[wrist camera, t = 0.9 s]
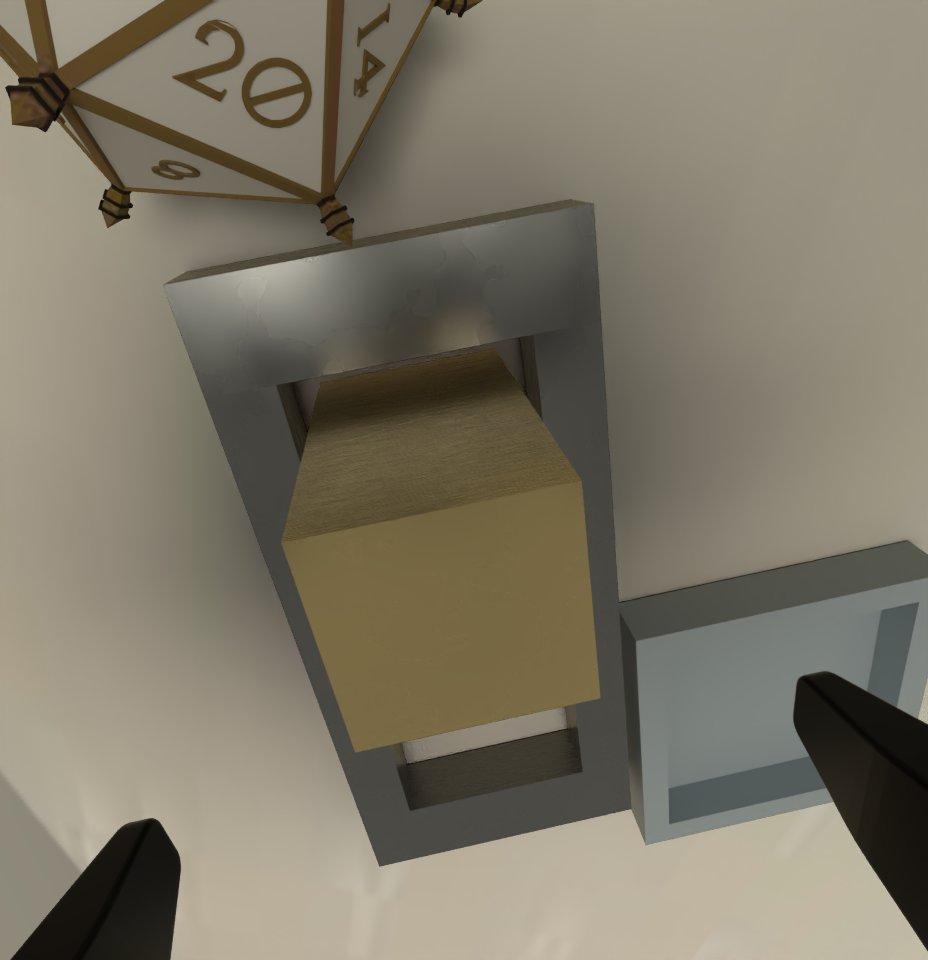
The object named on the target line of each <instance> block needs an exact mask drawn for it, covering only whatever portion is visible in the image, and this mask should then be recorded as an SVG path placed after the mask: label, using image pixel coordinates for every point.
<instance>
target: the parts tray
mask: <svg viewBox="0 0 928 960" xmlns="http://www.w3.org/2000/svg"><path fill="white" fill-rule="evenodd" d="M619 615H620V631H621V648H622V664H623V680H624V696H625V712H626V728H627V744H628V760H629V776H630V792H631V808H632V812H633V814H634V817H635V819H636V822H637V824H638V827H639V829H640V832H641V834H642V837H643V839H644V842H645V844H646V845H648V844H653V843H657V842H661V841H666V840H670V839H674V838H679V837H683V836H687V835H692V834H696V833H700V832H705V831H709V830H713V829H718V828H722V827H726V826H731V825H735V824H739V823H744V822H748V821H752V820H757V819H761V818H765V817H769V816H774V815H778V814H782V813H787V812H791V811H795V810H800V809H804V808H808V807H813V806H817V805H821V804H826V803H830V802H833V800H832V798H831V796H830V794H829V792H828V790H827V788H826V787H825V785H824V783H823V781H822V779H821V777H820V775H819V773H818V772H817V770H816V768H815V766H814V764H813V762H812V760H811V758H810V757H809V755H808V753H807V751H806V749H805V747H804V745H803V744H802V742H801V740H800V738H799V736H798V734H797V732H796V729H795V726H794V722H793V710H794V701H795V692H796V684H797V680H798V679H799V678H800V677H801V676H803V675H807V674H811V673H816V672H821V671H829V672H832V673H834V674H837V675H838V676H840V677H842V678H844V679H846V680H848V681H849V682H851V683H853V684H855V685H857V686H859V687H860V688H862V689H864V690H866V691H868V692H870V693H871V694H873V695H875V696H877V697H879V698H881V699H882V700H884V701H886V702H888V703H890V704H892V705H893V706H895V707H897V708H899V709H901V710H903V711H904V712H906V713H908V714H910V715H912V716H914V717H915V718H917V719H918V716H919V711H920V707H921V703H922V699H923V695H924V690H925V686H926V682H927V678H928V554H926V553H925V552H923V551H922V550H920V549H919V548H918V547H916V546H915V545H913V544H912V543H910V542H909V541H905V542H900V543H896V544H891V545H886V546H882V547H877V548H873V549H868V550H863V551H859V552H854V553H849V554H845V555H840V556H835V557H831V558H826V559H821V560H817V561H812V562H807V563H803V564H798V565H794V566H789V567H784V568H780V569H775V570H770V571H766V572H761V573H756V574H752V575H747V576H742V577H738V578H733V579H729V580H724V581H719V582H715V583H710V584H705V585H701V586H696V587H691V588H687V589H682V590H677V591H673V592H668V593H663V594H659V595H654V596H650V597H645V598H640V599H636V600H631V601H626V602H622V603H619Z"/></svg>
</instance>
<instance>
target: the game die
mask: <svg viewBox="0 0 928 960" xmlns="http://www.w3.org/2000/svg"><path fill="white" fill-rule="evenodd" d="M481 1H483V0H0V56H1V57H2V58H3V59H4V60H5V62H6V63H7V64H8V65H9V66H10V67H11V68H12V70H13V71H14V72H15V73H16V74H17V75H18V77H19V79H18V81H19V85H18V86H7V87H5V88H6V91H7V93H8V96H9V98H10V101H11V114H12V125H20V126H28V127H37V128H39V129H41V130H42V131H44V132H46V131H47V130H48V128H49V127H50V125H51V123H52V121H56V120H57V121H58V123H59V124H60V125H61V126H62V127H63V128H64V129H65V131H66V132H67V133H68V134H69V135H70V136H71V138H72V139H73V140H74V141H75V142H76V143H77V144H78V146H79V147H80V148H81V149H82V150H83V151H84V153H85V154H86V155H87V156H88V157H89V158H90V159H91V161H92V162H93V163H94V164H95V165H96V166H97V167H98V169H99V170H100V171H101V172H102V173H103V174H104V176H105V177H106V178H107V179H108V180H109V181H110V182H111V187H110V188H109V189H108V190H106V189H105V191H104V194H103V199H104V200H101V201H100V205H99V208H98V209H99V210H101V211H102V214H103V216H104V219H105V222H106V225H107V228H109V227H110V226H112V225H114V224H116V223H117V222H119V221H121V220H123V219H130V215H129V214H128V211H129V208H132V207H133V205H132V204H131V203H130V193H131V192H132V191H135V192H149V193H163V194H177V195H192V196H206V197H220V198H234V199H248V200H263V201H277V202H291V203H305V204H316V205H317V206H318V207H319V208H320V211H321V215H322V219H321V220H320V221H321V223H324V224H325V226H326V228H327V230H328V232H327V233H326V234H327V236H330V235H332V236H333V237H335V238H337V239H338V240H340V241H342V242H343V243H345V244H347V245H348V246H350V247H352V248H353V240H352V224H353V222H354V221H355V220H354V218H350V217H349V215H348V214H347V212H346V210H347V207H346V206H342V205H341V204H340V203H339V202H338V201H337V200H336V198H335V196H334V194H335V192H336V190H337V189H338V187H339V185H340V183H341V181H342V179H343V177H344V175H345V173H346V171H347V170H348V168H349V166H350V164H351V162H352V160H353V158H354V156H355V154H356V152H357V150H358V149H359V147H360V145H361V143H362V141H363V139H364V137H365V135H366V133H367V131H368V130H369V128H370V126H371V124H372V122H373V120H374V118H375V116H376V114H377V112H378V110H379V109H380V107H381V105H382V103H383V101H384V99H385V97H386V95H387V93H388V91H389V90H390V88H391V86H392V84H393V82H394V80H395V78H396V76H397V74H398V72H399V70H400V69H401V67H402V65H403V63H404V61H405V59H406V57H407V55H408V53H409V51H410V50H411V48H412V46H413V44H414V42H415V40H416V38H417V36H418V34H419V32H420V30H421V29H422V27H423V25H424V23H425V21H426V19H427V17H428V15H429V13H430V11H431V10H432V8H433V7H436V6H438V7H440V8H442V9H444V10H445V11H446V15H450V13H451V12H452V13H457V14H458V17H460V18H461V17H462V15H463V13H464V12H465V11H467V10H469V9H470V8H472V7H473V6H475V5H476V4H478V3H480V2H481Z"/></svg>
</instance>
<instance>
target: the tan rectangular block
mask: <svg viewBox="0 0 928 960" xmlns="http://www.w3.org/2000/svg"><path fill="white" fill-rule="evenodd" d="M281 544H282V547H283V550H284V552H285V555H286V558H287V561H288V564H289V567H290V569H291V572H292V575H293V578H294V581H295V584H296V586H297V589H298V592H299V595H300V598H301V601H302V603H303V606H304V609H305V612H306V615H307V618H308V620H309V623H310V626H311V629H312V632H313V635H314V637H315V640H316V643H317V646H318V649H319V651H320V654H321V657H322V660H323V663H324V666H325V668H326V671H327V674H328V677H329V680H330V683H331V685H332V688H333V691H334V694H335V697H336V700H337V702H338V705H339V708H340V711H341V714H342V717H343V719H344V722H345V725H346V728H347V731H348V734H349V736H350V739H351V742H352V745H353V748H354V751H355V753H356V752H360V751H365V750H369V749H374V748H378V747H383V746H387V745H392V744H396V743H401V742H405V741H410V740H414V739H419V738H423V737H428V736H433V735H437V734H442V733H446V732H451V731H455V730H460V729H464V728H469V727H473V726H478V725H482V724H487V723H491V722H496V721H500V720H505V719H509V718H514V717H518V716H523V715H527V714H532V713H536V712H541V711H545V710H550V709H554V708H559V707H564V706H568V705H573V704H577V703H582V702H586V701H591V700H595V699H600V686H599V674H598V663H597V651H596V640H595V628H594V617H593V605H592V594H591V582H590V571H589V559H588V547H587V536H586V524H585V513H584V501H583V490H582V480H581V479H580V477H579V476H578V474H577V473H576V471H575V470H574V468H573V467H572V465H571V464H570V462H569V461H568V459H567V458H566V456H565V455H564V453H563V452H562V450H561V449H560V447H559V446H558V444H557V443H556V441H555V440H554V438H553V437H552V435H551V433H550V432H549V430H548V429H547V427H546V426H545V424H544V423H543V421H542V420H541V418H540V417H539V415H538V414H537V412H536V411H535V409H534V408H533V406H532V405H531V403H530V402H529V400H528V399H527V397H526V396H525V394H524V393H523V391H522V390H521V388H520V387H519V385H518V383H517V382H516V380H515V379H514V377H513V376H512V374H511V373H510V371H509V370H508V368H507V367H506V365H505V364H504V362H503V361H502V359H501V358H500V356H499V355H498V353H497V352H496V350H495V349H488V350H483V351H478V352H473V353H468V354H463V355H458V356H453V357H448V358H443V359H438V360H433V361H428V362H423V363H417V364H412V365H407V366H402V367H397V368H392V369H387V370H382V371H377V372H372V373H367V374H362V375H357V376H351V377H346V378H341V379H336V380H331V381H326V382H321V383H320V386H319V390H318V394H317V398H316V402H315V406H314V411H313V415H312V419H311V423H310V427H309V431H308V435H307V439H306V443H305V447H304V452H303V456H302V460H301V464H300V468H299V472H298V476H297V480H296V484H295V488H294V492H293V497H292V501H291V505H290V509H289V513H288V517H287V521H286V525H285V529H284V533H283V537H282V542H281Z"/></svg>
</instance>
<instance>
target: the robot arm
mask: <svg viewBox="0 0 928 960" xmlns="http://www.w3.org/2000/svg"><path fill="white" fill-rule="evenodd" d="M793 722H794V726H795V729H796V732H797V734H798V736H799V738H800V740H801V742H802V744H803V745H804V747H805V749H806V751H807V753H808V755H809V757H810V758H811V760H812V762H813V764H814V766H815V768H816V770H817V772H818V773H819V775H820V777H821V779H822V781H823V783H824V785H825V787H826V788H827V790H828V792H829V794H830V796H831V798H832V800H833V802H834V803H835V805H836V807H837V809H838V811H839V813H840V815H841V816H842V818H843V820H844V822H845V824H846V826H847V827H848V829H849V831H850V833H851V835H852V836H853V838H854V840H855V842H856V843H857V845H858V846H859V848H860V849H861V851H862V853H863V854H864V856H865V857H866V859H867V860H868V862H869V864H870V865H871V867H872V868H873V870H874V871H875V873H876V874H877V876H878V877H879V879H880V880H881V882H882V883H883V885H884V886H885V888H886V889H887V891H888V892H889V894H890V895H891V897H892V898H893V900H894V901H895V903H896V904H897V906H898V907H899V909H900V910H901V912H902V913H903V915H904V916H905V918H906V919H907V921H908V922H909V924H910V925H911V927H912V928H913V930H914V931H915V933H916V934H917V936H918V937H919V939H920V940H921V942H922V943H923V945H924V946H925V948H926V949H927V951H928V724H926V723H925V722H923V721H921V720H919V719H917V718H915V717H914V716H912V715H910V714H908V713H906V712H904V711H903V710H901V709H899V708H897V707H895V706H893V705H892V704H890V703H888V702H886V701H884V700H882V699H881V698H879V697H877V696H875V695H873V694H871V693H870V692H868V691H866V690H864V689H862V688H860V687H859V686H857V685H855V684H853V683H851V682H849V681H848V680H846V679H844V678H842V677H840V676H838V675H837V674H834V673H832V672H829V671H821V672H816V673H811V674H807V675H803V676H801V677H800V678H799V679H798V680H797V684H796V692H795V701H794V710H793ZM180 873H181V862H180V857H179V854H178V851H177V849H176V848H175V846H174V845H173V843H172V841H171V840H170V838H169V836H168V835H167V833H166V831H165V830H164V828H163V826H162V825H161V823H160V822H159V821H158V820H156V819H154V818H149V819H144V820H140V821H135V822H130V823H127V824H125V825H124V826H122V827H121V828H120V829H119V830H118V831H117V832H116V833H115V834H114V835H113V837H112V838H111V839H110V840H109V841H108V843H107V844H106V845H105V846H104V848H103V849H102V850H101V851H100V852H99V854H98V855H97V856H96V857H95V858H94V860H93V861H92V862H91V863H90V864H89V866H88V867H87V868H86V869H85V870H84V872H83V873H82V874H81V875H80V877H79V878H78V879H77V880H76V881H75V883H74V884H73V885H72V886H71V887H70V889H69V890H68V891H67V892H66V894H65V895H64V896H63V897H62V898H61V899H60V901H59V902H58V903H57V904H56V905H55V907H54V908H53V909H52V910H51V911H50V913H49V914H48V915H47V916H46V917H45V919H44V920H43V921H42V922H41V924H40V925H39V926H38V927H37V928H36V930H35V931H34V932H33V933H32V934H31V936H30V937H29V938H28V939H27V940H26V942H25V943H24V944H23V945H22V947H21V948H20V949H19V950H18V951H17V952H16V954H15V955H14V956H13V957H12V959H11V960H170V959H171V950H172V942H173V933H174V925H175V916H176V908H177V899H178V890H179V882H180Z"/></svg>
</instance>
